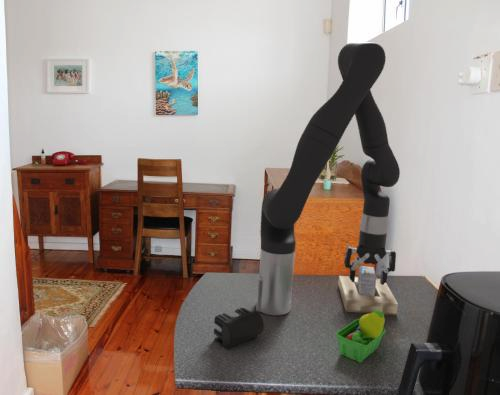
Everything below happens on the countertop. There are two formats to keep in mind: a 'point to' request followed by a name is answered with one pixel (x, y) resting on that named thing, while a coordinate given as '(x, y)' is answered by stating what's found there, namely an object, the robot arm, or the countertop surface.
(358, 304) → the thick beige rectangular frame
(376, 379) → the countertop surface
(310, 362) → the countertop surface
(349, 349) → the fruit basket
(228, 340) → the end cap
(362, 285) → the medicine box
